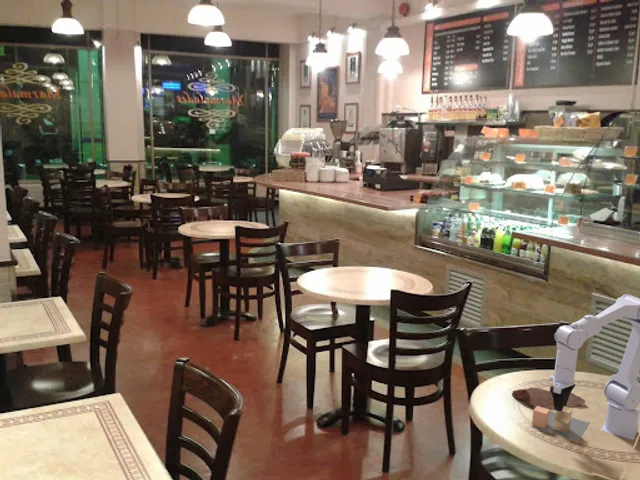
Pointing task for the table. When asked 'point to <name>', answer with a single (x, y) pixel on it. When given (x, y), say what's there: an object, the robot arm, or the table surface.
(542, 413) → the terracotta block
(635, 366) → the robot arm
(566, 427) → the beech block
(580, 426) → the slate board
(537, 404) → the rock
